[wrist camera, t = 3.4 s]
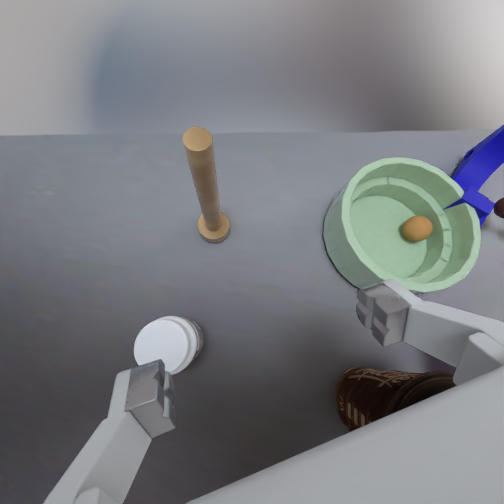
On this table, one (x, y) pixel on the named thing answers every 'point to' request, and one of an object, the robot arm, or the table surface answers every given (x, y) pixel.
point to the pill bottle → (169, 343)
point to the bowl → (401, 227)
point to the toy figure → (499, 208)
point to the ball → (417, 228)
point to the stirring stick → (205, 184)
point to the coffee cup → (384, 393)
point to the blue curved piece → (479, 172)
